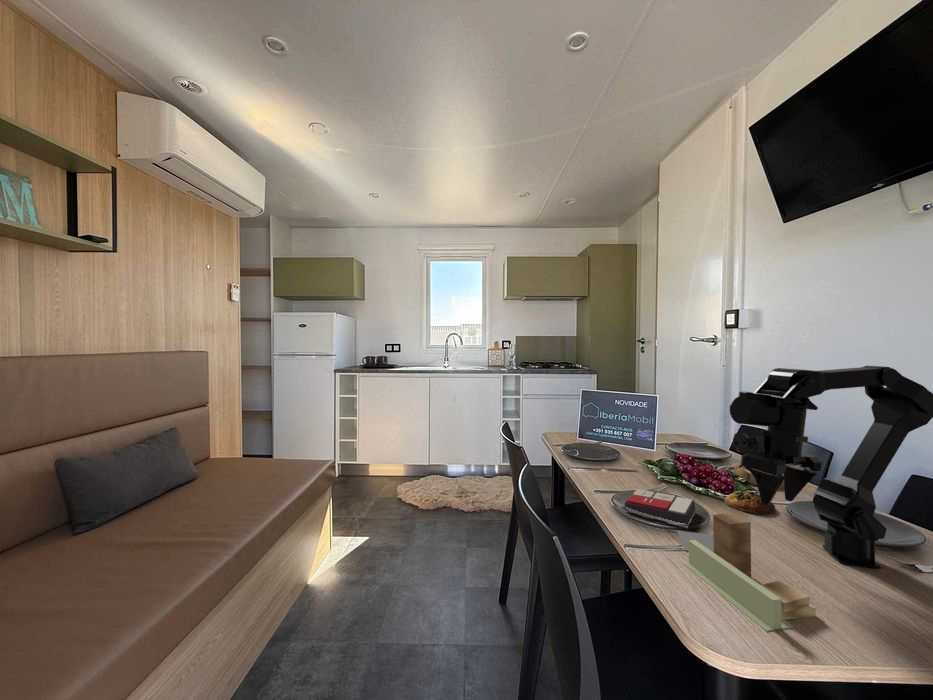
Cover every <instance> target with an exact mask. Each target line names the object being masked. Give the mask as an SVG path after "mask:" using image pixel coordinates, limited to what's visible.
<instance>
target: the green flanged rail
mask: <svg viewBox="0 0 933 700" xmlns="http://www.w3.org/2000/svg"><path fill="white" fill-rule="evenodd" d="M683 565H684V566H685V567H686V568H687V569H689V570H690V571H691V572H692V573H694V575H696V576H697V577H698V578H699V579H701V580H702V581H703V582H705V583H706V584H707V585H708V586H709V587H711V588H712V589H713V590H715V591H716V592H717V593H719V595H721V596H722V597H724V599H725V600H727V601H728V602H729V603H731V604H732V606H734V607H736V608H737V610H740V611H741V612H742V613H743V614H744V615H746V617H748V618H749V619H750V620H752V621H753V622H754V623H755V624H757V625H758V627H760V628H761V629H763V630H764V631H765V632H773V631H780V630H781V631H782V630H786V629H792V628H794V625H793V624H791V623H789V622H788V620H787V619H786V620H781V599H780V598H779V597H777V596H776V595H774V594H773V593H771V592H770V591H769V590H767V589H766V588H764V587H763V586H761V585H762V584H760V583H758V582H757V581H756V580H754V579H753V578H752V577H748V576H747V575H745V574H744V573H742V572H741V571H740V570H738V569H737V568H735V567H734V566H732V565H731V564H729V563H728V562H726V561H725V560H724V559H722V558H721V557H719V556H718V555H716V554H715V553H713V552H712V551H711V550H709V549H708V548H706V547H705V546H703V545H702V544H700V543H699V542H697V541H696V540H689V552H688V562H686V563H685V562H684V563H683Z"/></svg>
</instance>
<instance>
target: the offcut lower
mask: <svg viewBox="0 0 933 700" xmlns="http://www.w3.org/2000/svg"><path fill="white" fill-rule="evenodd" d="M816 609H817V608H816V607H815V606H814V605H812V604H810V603H809V606H805V607H801V608H798V609H794V610H790V611H787V612H783V611H782V610H781V620H786V621H787V620H793V619H794V620H795V619H805V618H811V617H813V618H814V617H816V613H817V610H816Z"/></svg>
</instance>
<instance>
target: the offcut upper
mask: <svg viewBox="0 0 933 700" xmlns="http://www.w3.org/2000/svg"><path fill="white" fill-rule="evenodd" d="M760 585H761V586H763V587H764V588H766V589H767V590H769V591H770V592H771V593H773V594H774V595H776V596H777V597H779V598H780V599H781V610H782V611H783V612H787V611H790V610H794V609H798V608H801V607H805V606H809V604H810V596H809V595H808V594H805V593H803V592H802V591H800V590H798V589H796V588H794V587H793V586H791V585H789V584H788V583H785V582H783V581H782V580H776V581H772V582H768V583H762V584H760Z"/></svg>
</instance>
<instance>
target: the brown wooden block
mask: <svg viewBox="0 0 933 700" xmlns="http://www.w3.org/2000/svg"><path fill="white" fill-rule="evenodd" d="M712 516H713V517H712V521H713V522H712V523H713V524H712V525H713V528H712V529H713V531H712V532H713V534H712V535H714V553H715V554H716V555H718V556H719V557H721V558H722V559H724V560H725V561H726V562H728V563H729V564H731V565H732V566H734V567H735V568H737V569H738V570H740V571H741V572H742V573H744V574H745V575H747V576H748V577H750V578H752V542H751V541H752V537H751V533H752V532H751V528H752V527H751V521H750V520H748V519H746V518H743V517H741V516H740V515H738V514H736V513H734V512H730V513H727V512H726V513H720V514H719V513H718V514H713V515H712Z"/></svg>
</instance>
